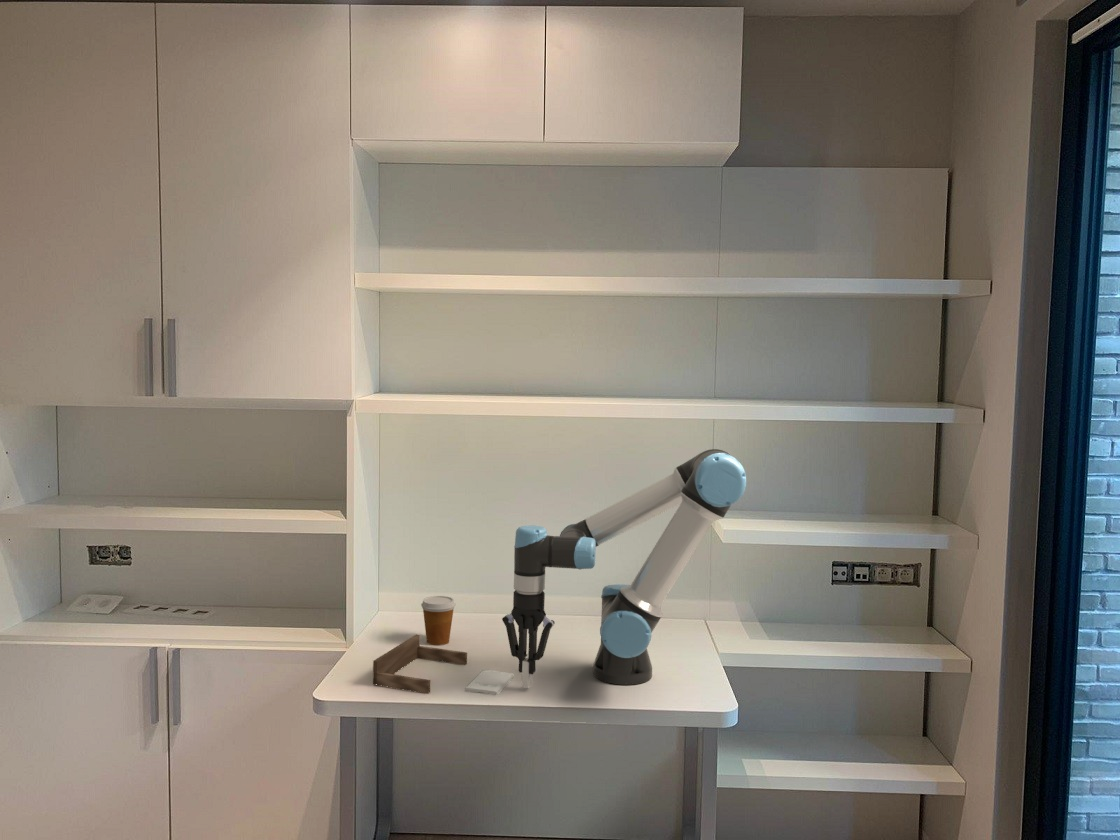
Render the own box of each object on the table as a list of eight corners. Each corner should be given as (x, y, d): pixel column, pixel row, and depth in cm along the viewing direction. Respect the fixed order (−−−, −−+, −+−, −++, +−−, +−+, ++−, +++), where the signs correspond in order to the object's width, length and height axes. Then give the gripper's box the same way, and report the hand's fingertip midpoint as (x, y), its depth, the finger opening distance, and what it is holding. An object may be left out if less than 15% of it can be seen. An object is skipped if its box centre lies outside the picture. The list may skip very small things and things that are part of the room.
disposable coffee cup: (422, 648, 238) (423, 605, 238) (419, 637, 248) (419, 596, 247) (457, 646, 241) (457, 603, 240) (452, 635, 250) (452, 594, 249)
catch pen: (467, 663, 227) (467, 641, 227) (428, 693, 206) (428, 669, 206) (416, 656, 232) (416, 634, 232) (373, 684, 211) (373, 660, 211)
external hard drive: (513, 679, 218) (496, 697, 207) (482, 675, 221) (464, 693, 209) (513, 673, 218) (497, 691, 206) (483, 669, 221) (464, 686, 209)
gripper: (559, 589, 210) (556, 684, 212) (509, 583, 214) (507, 676, 216) (549, 597, 203) (546, 695, 204) (498, 591, 207) (495, 687, 209)
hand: (526, 685), depth 210 cm, fingers closed
